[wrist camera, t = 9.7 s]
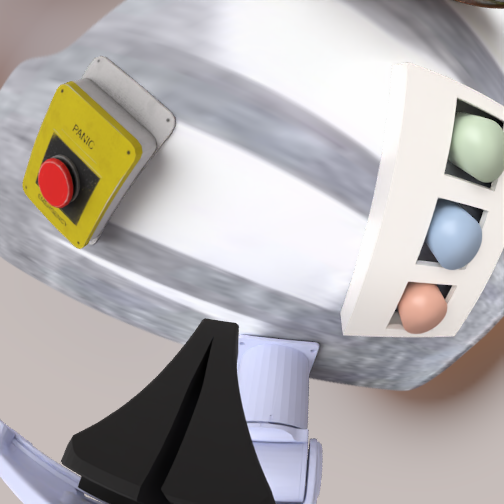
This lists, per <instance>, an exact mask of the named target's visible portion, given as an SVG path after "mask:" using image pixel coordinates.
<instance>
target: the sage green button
mask: <svg viewBox="0 0 504 504" xmlns="http://www.w3.org/2000/svg"><path fill="white" fill-rule="evenodd" d="M448 160H449V161H450V162H451V163H452V164H454V165H455V166H457V167H459V168H460V169H462V170H464V171H465V172H467V173H468V174H470V175H472V176H473V177H475V178H476V179H478V180H479V181H481V182H492V181H494V180H496V179H497V178H498V177H499V176H500V175H501V174H502V172H503V171H504V131H503V130H502V128H501V127H500V126H499V124H497V123H496V122H495V121H493V120H491V119H487V118H484V117H480V116H476V115H472V114H468V113H464V112H455V118H454V125H453V132H452V138H451V143H450V149H449V154H448Z"/></svg>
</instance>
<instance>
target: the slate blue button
mask: <svg viewBox="0 0 504 504" xmlns="http://www.w3.org/2000/svg"><path fill="white" fill-rule="evenodd" d="M424 241H425V243H426V244H427V246H428V247H429V249H430V250H431V251H432V253H433V254H434V256H435V257H436V259H437V260H438V262H439V263H440V265H441V266H442V267H444V268H445V269H448V270H456V269H459V268H462V267H464V266H465V265H467V264H468V263H469V262H470V261H471V260H472V259H473V258H474V257H475V256H476V254H477V252H478V251H479V248H480V246H481V242H482V229H481V227H480V225H479V223H478V222H477V221H476V220H475V219H474V218H473V217H472V216H471V215H470V214H469V213H467V212H466V211H465V210H464V209H463V208H462V207H461V206H460V205H459V204H457V203H456V202H455V201H451V200H447V199H443V198H440V199H437V203H436V206H435V209H434V213H433V216H432V219H431V222H430V225H429V228H428V231H427V234H426V237H425V240H424Z"/></svg>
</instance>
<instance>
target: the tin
mask: <svg viewBox="0 0 504 504" xmlns="http://www.w3.org/2000/svg"><path fill="white" fill-rule="evenodd" d="M455 1H459V2H462V3H466V4H469V5H473V6H479V7H485V8H501V9H503V8H504V0H455Z"/></svg>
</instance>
